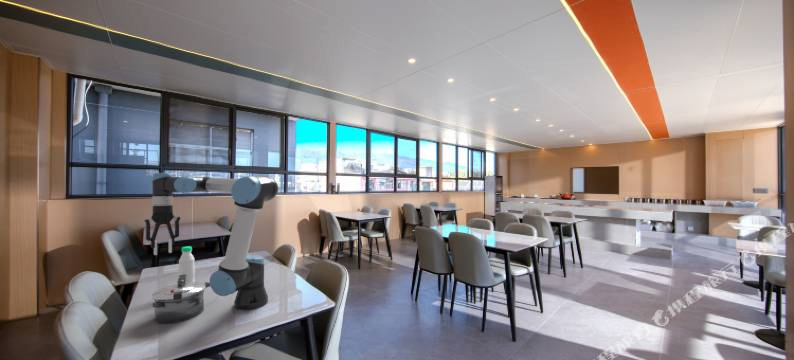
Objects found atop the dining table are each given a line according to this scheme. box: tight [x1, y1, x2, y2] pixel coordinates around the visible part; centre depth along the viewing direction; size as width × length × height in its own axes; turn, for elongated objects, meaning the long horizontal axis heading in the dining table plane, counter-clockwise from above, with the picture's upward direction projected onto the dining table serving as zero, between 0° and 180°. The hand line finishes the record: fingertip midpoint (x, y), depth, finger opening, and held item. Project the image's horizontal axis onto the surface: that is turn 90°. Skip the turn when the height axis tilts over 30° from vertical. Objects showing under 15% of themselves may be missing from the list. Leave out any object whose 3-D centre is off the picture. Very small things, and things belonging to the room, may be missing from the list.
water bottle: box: [178, 245, 196, 283], centre depth 161 cm, size 7×7×25 cm
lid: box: [151, 274, 207, 301], centre depth 136 cm, size 28×20×4 cm
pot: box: [152, 281, 211, 325], centre depth 136 cm, size 26×19×10 cm
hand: (162, 253), depth 139 cm, fingers open, 5 cm apart
